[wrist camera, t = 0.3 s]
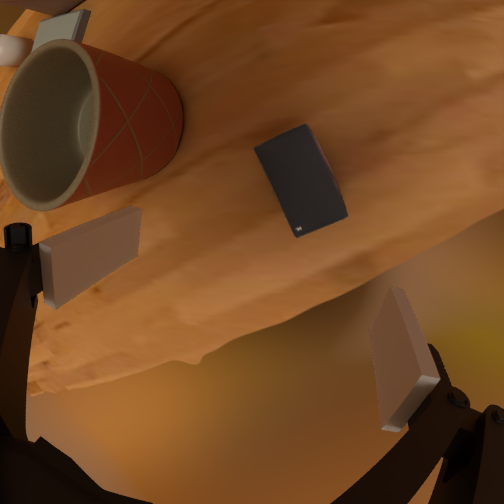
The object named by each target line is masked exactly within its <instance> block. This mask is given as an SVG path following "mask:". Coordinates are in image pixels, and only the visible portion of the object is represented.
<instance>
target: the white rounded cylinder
mask: <svg viewBox="0 0 504 504" xmlns="http://www.w3.org/2000/svg"><path fill="white" fill-rule="evenodd" d="M33 44H34V41H33V40H32V39H29V38H23V37H17V36H10V35H3V34H0V66H6V67H19V66H20V65H21V64H22V62H23V61H24V60H25V59H26V58H27V57H28V56H29V55H30V54H31V51H32V48H33Z"/></svg>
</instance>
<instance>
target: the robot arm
mask: <svg viewBox="0 0 504 504" xmlns="http://www.w3.org/2000/svg"><path fill="white" fill-rule="evenodd" d="M141 217H142V209H140V208H137V207H134V206H129V207H126V208H123V209H120V210H118V211H115V212H112V213H110V214H107V215H104V216H102V217H99V218H97V219H94V220H91V221H89V222H86V223H84V224H81V225H79V226H76V227H74V228H71V229H69V230H67V231H64V232H62V233H59V234H57V235H55V236H52V237H50V238H48V239H45V240H43V241H41V242H39V243H37V244H35V245H33V246H32V226H31V225H30V224H27V223H13V224H9V225H7V226H5V227H4V240H5V248H2V247H0V504H153V503H151V502H146V501H142V500H138V499H134V498H130V497H127V496H123V495H119V494H116V493H112V492H109V491H106V490H104V489H102V488H101V487H99V486H98V485H97V484H96V483H95V482H94V481H93V480H92V479H91V478H90V477H89V476H88V475H87V474H86V473H85V472H84V471H83V470H82V469H81V468H80V467H79V466H78V465H77V464H76V463H75V462H74V461H73V460H72V459H71V458H70V457H69V456H67V455H66V454H64V453H63V452H61V451H60V450H59V449H57V448H56V447H54V446H53V445H52V444H50V443H49V442H48V441H46V440H45V439H44V438H42V437H40V438H39V439H38V440H37V441H36V442H35V443H34V442H31V441H28V438H27V435H26V427H25V426H26V425H25V424H26V423H25V422H26V391H27V377H28V366H29V356H30V348H31V340H32V333H33V327H34V321H35V315H36V310H37V304H38V298H37V294H38V293H40V292H41V291H43V296H44V303H46V304H47V305H49V306H50V307H52V308H54V309H55V310H57V309H58V308H60V307H61V306H62V305H64V304H65V303H67V302H68V301H70V300H71V299H73V298H74V297H76V296H77V295H78V294H80V293H81V292H83V291H84V290H86V289H87V288H89V287H90V286H92V285H93V284H95V283H96V282H98V281H99V280H101V279H102V278H104V277H106V276H107V275H109V274H110V273H112V272H113V271H115V270H116V269H118V268H119V267H121V266H123V265H124V264H126V263H127V262H129V261H130V260H132V259H134V258H135V257H137V256H138V246H139V235H140V226H141ZM369 336H370V342H371V349H372V356H373V362H374V370H375V378H376V385H377V393H378V403H379V413H380V424H381V430H387V431H393V432H399V431H400V430H401V429H402V428H403V427H404V426H405V424H406V423H407V422H408V426H409V430H408V432H407V433H406V434H405V435H404V436H403V437H402V438H401V439H400V440H399V441H398V443H396V445H395V446H394V447H393V448H392V449H391V450H390V451H389V452H388V453H387V454H386V455H385V456H384V457H383V458H382V459H381V460H380V461H379V462H378V463H377V464H376V465H375V466H373V467H372V468H371V469H370V471H368V472H367V473H366V474H365V475H364V476H363V477H362V478H360V479H359V480H358V481H357V482H356V483H355V484H354V485H353V486H351V487H350V488H349V489H348V490H347V491H346V492H344V493H343V494H342V495H341V496H339V497H338V498H337V499H336V500H334V501H333V502H332V503H331V504H407V503H408V502H409V501H410V500H411V499H412V497H413V496H414V495H415V494H416V492H417V491H418V490H419V488H420V487H421V485H422V484H423V483H424V482H425V480H426V479H427V477H428V476H429V475H430V473H431V472H432V470H433V469H434V468H435V466H436V464H437V463H438V462H439V460H440V459H441V457H443V458H444V459H443V462H442V465H441V469H440V472H439V475H438V478H437V481H436V484H435V487H434V490H433V492H432V495H431V498H430V500H429V503H428V504H504V409H503V408H501V407H499V406H497V405H489V406H488V407H487V408H486V409H485V410H484V412H483V413H481V412H478V411H476V410H474V409H471V408H470V401H469V399H468V397H467V396H466V395H465V394H464V393H463V392H462V391H461V390H459V389H458V388H456V387H452V385H451V382H450V380H449V377H448V374H447V372H446V370H445V369H444V365H443V362H442V360H441V357H440V355H439V352H438V351H437V350H436V349H435V348H434V346H432V344H428V343H427V342H426V340H425V337H424V335H423V332H422V330H421V328H420V325H419V323H418V321H417V318H416V316H415V314H414V311H413V309H412V307H411V305H410V303H409V300H408V298H407V296H406V294H405V292H404V290H403V289H401V288H398V287H394V286H391V285H390V286H389V289H388V291H387V293H386V295H385V298H384V300H383V302H382V304H381V306H380V309H379V311H378V313H377V315H376V317H375V319H374V321H373V323H372V325H371V327H370V329H369Z"/></svg>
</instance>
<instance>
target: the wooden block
mask: <svg viewBox="0 0 504 504" xmlns="http://www.w3.org/2000/svg"><path fill="white" fill-rule="evenodd" d="M82 1H84V0H0V3H3V4H8V5H13V6H17V7H22V8H26V9H30V10H34V11H38V12H42V13H45V14H49V15H53V16H59V15H62V14H66V13H67V12H69V11H70V10H71V9H73V8H74V7H75V6H77V5H78V4H80V3H81V2H82Z"/></svg>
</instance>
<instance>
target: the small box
mask: <svg viewBox="0 0 504 504" xmlns="http://www.w3.org/2000/svg"><path fill="white" fill-rule="evenodd" d="M254 151H255V153H256V155H257V157H258V159H259V161H260V163H261V165H262V167H263V169H264V171H265V174H266V176H267V178H268V180H269V182H270V184H271V186H272V189H273V191H274V193H275V195H276V197H277V199H278V201H279V203H280V206H281V208H282V210H283V212H284V214H285V217H286V219H287V221H288V223H289V225H290V227H291V230H292V232H293V234H294V236H295V237H296V238H299V237H301V236H303V235H306V234H308V233H311V232H313V231H316V230H318V229H321V228H323V227H326V226H328V225H331V224H333V223H335V222H338V221H340V220H343V219H345V218H347V217H348V213H347V210H346V206H345V203H344V200H343V197H342V194H341V192H340V189H339V186H338V184H337V181H336V179H335V176H334V174H333V171H332V169H331V167H330V165H329V162H328V160H327V158H326V156H325V154H324V152H323V150H322V148H321V146H320V144H319V142H318V140H317V139H316V137H315V135H314V134H313V132H312V131H311V129H310V128H309V126H308V125H307V124H303V125H301V126H299V127H296V128H294V129H292V130H289V131H287V132H285V133H283V134H281V135H278V136H276V137H274V138H272V139H270V140H268V141H266V142H264V143H262V144H260V145H257V146H256V147H254Z"/></svg>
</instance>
